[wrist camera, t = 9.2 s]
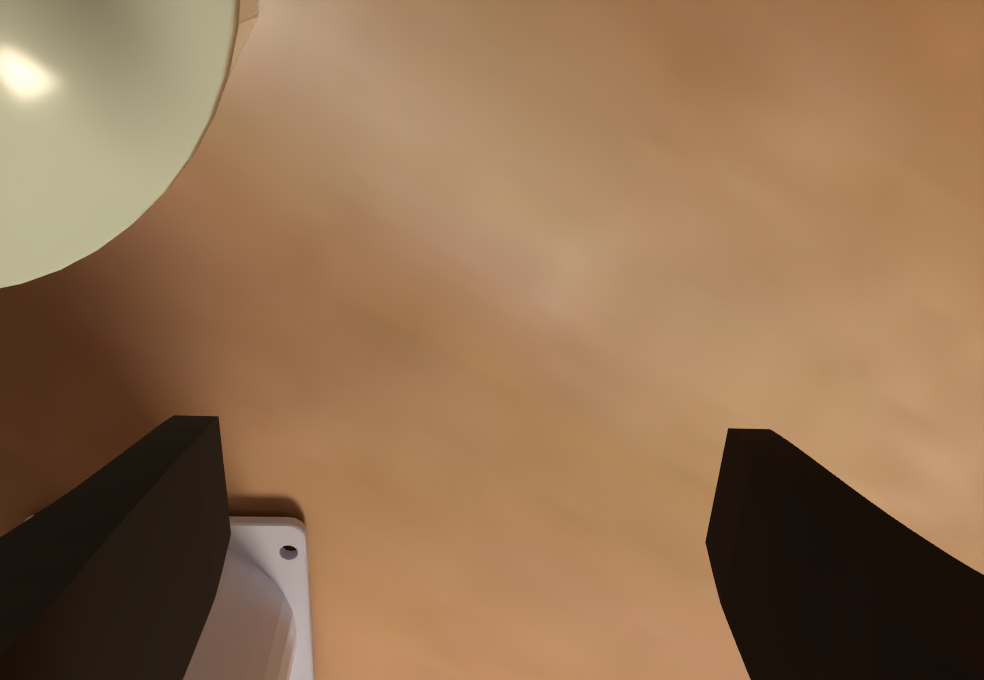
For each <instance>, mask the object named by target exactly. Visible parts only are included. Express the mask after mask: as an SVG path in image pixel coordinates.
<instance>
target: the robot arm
mask: <svg viewBox="0 0 984 680" xmlns="http://www.w3.org/2000/svg"><path fill="white" fill-rule="evenodd" d="M287 545H289V546H293V547H295V548H296V549H297V550H295V551H288V550H286V549H285V548H283V546H287ZM706 546H707V551H708V555H709V559H710V564H711V568H712V572H713V576H714V580H715V584H716V588H717V592H718V595H719V599H720V603H721V606H722V609H723V611H724V614H725V616H726V619H727V622H728V624H729V627H730V629H731V632H732V634H733V637H734V639H735V642H736V644H737V647H738V649H739V652H740V654H741V657H742V659H743V662H744V664H745V667H746V669H747V672H748V674H749V677H750V679H751V680H984V575H983V574H981V573H979V572H977V571H976V570H974V569H972V568H970V567H969V566H967V565H965V564H964V563H962V562H960V561H959V560H957V559H955V558H954V557H952V556H951V555H949V554H947V553H946V552H944V551H943V550H941V549H940V548H938V547H937V546H935V545H933V544H932V543H930V542H929V541H927V540H926V539H924V538H923V537H921V536H920V535H918V534H917V533H915V532H913V531H912V530H910V529H909V528H907V527H906V526H904V525H903V524H902V523H900V522H899V521H897V520H896V519H894V518H893V517H891V516H890V515H888V514H887V513H886V512H884V511H883V510H881V509H880V508H879V507H877V506H876V505H874V504H873V503H872V502H870V501H869V500H867V499H866V498H865V497H863V496H862V495H861V494H859V493H858V492H856V491H855V490H854V489H852V488H851V487H850V486H848V485H847V484H846V483H844V482H843V481H842V480H840V479H839V478H837V477H836V476H835V475H833V474H832V473H831V472H829V471H828V470H827V469H825V468H824V467H823V466H821V465H820V464H819V463H817V462H816V461H815V460H813V459H812V458H811V457H809V456H808V455H807V454H805V453H804V452H803V451H801V450H800V449H799V448H797V447H796V446H794V445H793V444H792V443H790V442H789V441H787V440H786V439H784V438H783V437H781V436H780V435H778V434H777V433H775V432H774V431H772V430H770V429H733V428H728V432H727V437H726V442H725V447H724V452H723V457H722V462H721V467H720V472H719V477H718V482H717V487H716V492H715V497H714V502H713V507H712V512H711V517H710V522H709V527H708V532H707V537H706ZM0 680H315V666H314V647H313V629H312V611H311V592H310V574H309V556H308V537H307V529H306V526H305V525H304V524H303V522H302V521H300V520H298V519H296V518H291V517H238V516H229V510H228V501H227V492H226V482H225V473H224V464H223V455H222V445H221V436H220V427H219V417H218V416H175V415H174V416H173V417H171V418H169V419H168V420H166V421H165V422H163V423H162V424H161V425H159V426H158V427H157V428H155V429H154V430H152V431H151V432H150V433H148V434H147V435H146V436H144V437H143V438H142V439H140V440H139V441H138V442H136V443H135V444H134V445H132V446H131V447H130V448H128V449H127V450H126V451H125V452H123V453H122V454H121V455H119V456H118V457H117V458H115V459H114V460H112V461H111V462H110V463H108V464H107V465H106V466H104V467H103V468H102V469H100V470H99V471H97V472H96V473H95V474H93V475H92V476H91V477H89V478H88V479H87V480H85V481H84V482H83V483H81V484H80V485H78V486H77V487H76V488H74V489H73V490H71V491H70V492H69V493H67V494H66V495H64V496H63V497H61V498H60V499H58V500H57V501H55V502H54V503H52V504H51V505H49V506H48V507H46V508H45V509H43V510H42V511H40V512H39V513H37V514H36V515H31V516H29V517H27V518H26V519H25V520H24V522H23V523H22V524H20V525H19V526H17V527H16V528H14V529H13V530H11V531H10V532H8V533H7V534H5V535H3V536H2V537H0Z"/></svg>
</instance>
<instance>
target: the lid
mask: <svg viewBox="0 0 984 680" xmlns="http://www.w3.org/2000/svg"><path fill="white" fill-rule="evenodd" d="M239 12H240V0H0V288H3V287H8V286H13V285H18V284H22V283H25V282H28V281H30V280H33V279H36V278H39V277H42V276H44V275H47V274H50V273H53V272H56V271H58V270H61V269H63V268H65V267H67V266H69V265H71V264H72V263H74V262H76V261H78V260H80V259H82V258H84V257H86V256H88V255H89V254H91V253H93V252H95V251H97V250H98V249H100V248H101V247H102V246H104V245H105V244H106V243H108V242H109V241H110V240H112V239H113V238H115V237H116V236H117V235H119V234H120V233H121V232H123V231H124V230H125V229H127V228H128V227H129V226H131V225H132V224H133V223H134V222H135V221H136V220H137V219H138V218H139V217H140V216H141V215H142V214H143V213H144V212H145V211H146V210H147V209H148V208H149V207H150V206H151V205H152V204H153V203H154V202H155V201H156V200H157V199H158V198H159V197H160V196H161V195H162V194H163V193H164V192H165V191H166V190H167V189H168V188H169V187H170V186H171V185H172V184H173V183H174V181H175V180H176V178H177V177H178V176H179V174H180V173H181V172H182V170H183V169H184V168H185V166H186V165H187V163H188V162H189V161H190V159H191V158H192V157H193V155H194V154H195V152H196V150H197V148H198V147H199V145H200V143H201V141H202V139H203V137H204V135H205V133H206V131H207V129H208V127H209V126H210V124H211V122H212V120H213V118H214V116H215V113H216V110H217V108H218V105H219V102H220V99H221V96H222V93H223V90H224V88H225V85H226V82H227V79H228V76H229V73H230V68H231V63H232V58H233V53H234V48H235V43H236V38H237V33H238V27H239Z"/></svg>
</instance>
